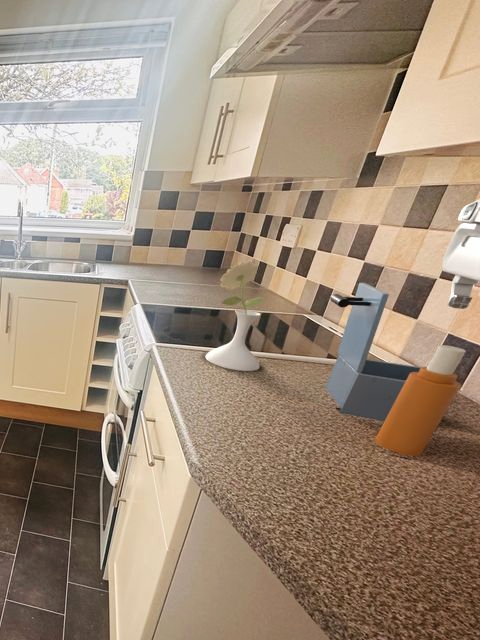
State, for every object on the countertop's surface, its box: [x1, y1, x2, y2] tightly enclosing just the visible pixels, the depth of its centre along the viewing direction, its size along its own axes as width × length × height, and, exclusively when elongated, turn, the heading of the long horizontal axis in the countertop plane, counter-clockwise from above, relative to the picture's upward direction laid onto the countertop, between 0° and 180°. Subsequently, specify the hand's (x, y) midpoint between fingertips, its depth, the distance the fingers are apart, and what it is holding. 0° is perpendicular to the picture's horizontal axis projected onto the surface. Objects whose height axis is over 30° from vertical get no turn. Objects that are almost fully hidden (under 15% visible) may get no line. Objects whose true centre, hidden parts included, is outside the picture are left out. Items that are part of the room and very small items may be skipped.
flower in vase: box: [205, 260, 264, 372], centre depth 96 cm, size 13×11×25 cm
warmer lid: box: [329, 282, 390, 372], centre depth 79 cm, size 14×12×5 cm
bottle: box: [374, 344, 466, 461], centre depth 66 cm, size 6×6×18 cm
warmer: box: [324, 354, 422, 422], centre depth 80 cm, size 14×12×9 cm
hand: (473, 314), depth 60 cm, fingers open, 8 cm apart
